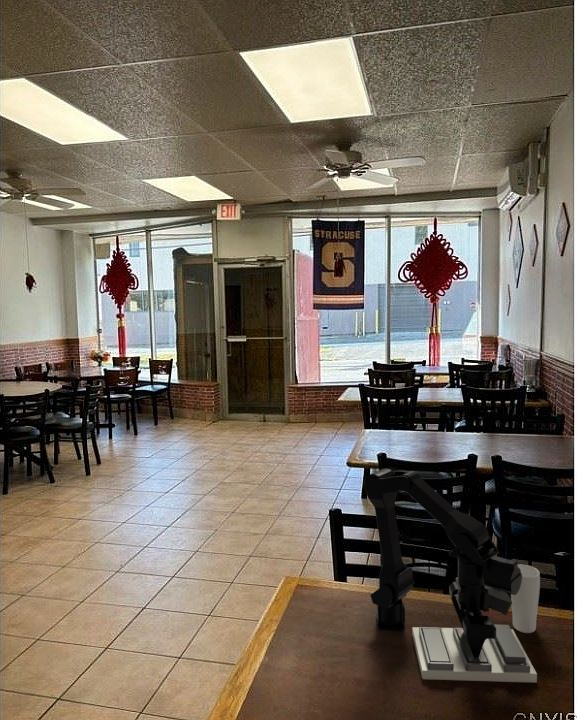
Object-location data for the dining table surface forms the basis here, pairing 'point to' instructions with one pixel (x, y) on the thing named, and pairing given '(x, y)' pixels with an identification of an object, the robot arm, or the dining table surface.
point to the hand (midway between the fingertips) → (470, 643)
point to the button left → (435, 645)
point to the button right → (509, 645)
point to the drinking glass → (526, 600)
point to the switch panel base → (470, 671)
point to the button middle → (467, 650)
